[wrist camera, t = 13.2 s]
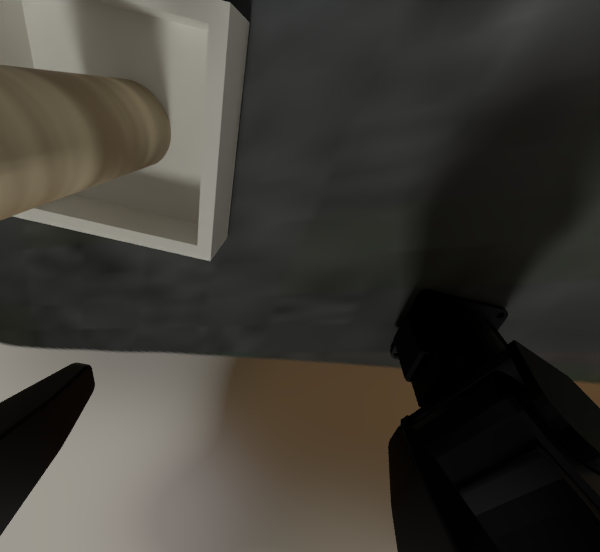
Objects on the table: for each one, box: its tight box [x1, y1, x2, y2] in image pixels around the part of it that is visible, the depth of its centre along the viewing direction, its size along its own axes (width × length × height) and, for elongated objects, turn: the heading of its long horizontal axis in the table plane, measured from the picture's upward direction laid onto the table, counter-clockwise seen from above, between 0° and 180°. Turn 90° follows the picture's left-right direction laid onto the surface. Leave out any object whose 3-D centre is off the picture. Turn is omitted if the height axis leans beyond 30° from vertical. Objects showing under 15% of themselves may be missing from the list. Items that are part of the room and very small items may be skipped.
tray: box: [0, 0, 250, 261], centre depth 16 cm, size 12×12×4 cm
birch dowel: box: [0, 65, 171, 220], centre depth 11 cm, size 4×4×13 cm
